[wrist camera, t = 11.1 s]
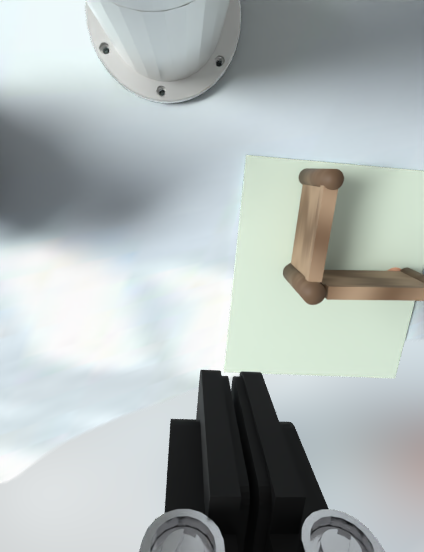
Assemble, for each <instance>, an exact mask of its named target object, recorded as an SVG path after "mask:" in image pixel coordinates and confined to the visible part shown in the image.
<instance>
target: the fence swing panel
mask: <svg viewBox="0 0 424 552" xmlns="http://www.w3.org/2000/svg"><path fill="white" fill-rule="evenodd" d="M319 283H320V284H321V285H322V286H323V287H324V288H325V291H326V295H325V298H326V299H327V300H402V301H424V275H423V274H421V273H419V272H417V271H415V270H413V269H410V268H403V269H401V270H400V271H367V270H324V272H323V278H322V282H319Z"/></svg>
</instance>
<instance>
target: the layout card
mask: <svg viewBox="0 0 424 552" xmlns="http://www.w3.org/2000/svg"><path fill="white" fill-rule="evenodd" d="M306 168H317V169H339V170H340V171H341V172H342V173H343V175H344V182H343V184H342V186H341V187H340V188H338V194H337V199H336V205H335V210H334V216H333V222H332V227H331V233H330V239H329V244H328V250H327V256H326V261H325V267H324V270H367V271H400V270H401V269H403V268H410V269H413V270H415V271H417V272H419V273H421V274H422V272H423V268H424V171H420V170H408V169H397V168H386V167H375V166H364V165H352V164H341V163H330V162H319V161H308V160H296V159H285V158H274V157H263V156H252V155H246V160H245V170H244V180H243V189H242V199H241V209H240V218H239V228H238V238H237V247H236V257H235V267H234V276H233V286H232V296H231V305H230V315H229V325H228V335H227V344H226V354H225V364H224V372H232V373H240V372H241V371H244V372H261V373H262V374H287V375H315V376H316V375H317V376H343V377H371V378H395V376H396V373H397V369H398V365H399V361H400V357H401V353H402V349H403V345H404V342H405V338H406V334H407V330H408V326H409V322H410V319H411V315H412V311H413V307H414V303H415V301H402V300H327V299H326V298H324V300H323V301H322V302H321V303H319V304H317V305H309V304H307V303H306V302H305V301H304V300H303V299H302V298H301V296H300V295H299V294H298V293H297V292H296V291H295V289H294V288H293V287H292V286H291V285H290V284H289V283H288V281H287V280H286V279H285V278H284V276H283V269H284V268H285V266H286V265H288V264H289V263H291V259H292V252H293V245H294V239H295V232H296V225H297V218H298V212H299V205H300V198H301V192H302V184H301V183H300V182H299V174H300V172H301V171H302V170H303V169H306Z"/></svg>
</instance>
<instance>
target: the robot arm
mask: <svg viewBox="0 0 424 552" xmlns="http://www.w3.org/2000/svg"><path fill="white" fill-rule="evenodd" d="M85 11H86V21H87V27H88V31H89V35H90V38H91V42H92V44H93V46H94V49H95V51H96V53H97V55H98V57H99V59H100V60H101V62H102V63H103V65H104V66H105V68H106V69H107V71H108V72H109V73H110V74H111V75H112V77H113V78H114V79H115V80H116V81H117V82H119V83H120V84H121V85H122V86H123V87H124V88H125V89H127V90H128V91H130V92H132V93H133V94H135V95H137V96H138V97H141V98H144V99H147V100H149V101H153V102H159V103H180V102H183V101H187V100H191V99H193V98H195V97H197V96H199V95H201V94H203V93H205V92H206V91H207V90H208V89H210V88H211V87H212V86H213V85H215V84H216V82H217V81H218V80H219V79H220V78H221V76H222V75H223V74H224V73H225V71H226V69H227V67H228V66H229V64H230V62H231V60H232V58H233V55H234V53H235V51H236V47H237V43H238V40H239V36H240V27H241V6H240V0H86V2H85ZM106 48H108V49H109V53H108V54H105V53H104V50H105V49H106ZM217 61H221V63H222V65H221V66H217V65H216V62H217ZM161 90H164V91H165V95H164V96H161V95H160V94H159V92H160V91H161ZM139 552H385V551H384V549H383V548H382V546H381V545H380V543H379V541H378V540H377V539H376V537H375V536H374V535H373V534H372V532H371V531H370V530H369V529H368V528H367V527H366V526H365V525H363V524H362V523H361V522H360V521H359V520H357V519H355V518H354V517H352V516H350V515H348V514H346V513H344V512H340V511H337V510H331V509H330V510H329V509H328V507H327V504H326V502H325V499H324V497H323V495H322V492H321V490H320V487H319V485H318V482H317V480H316V478H315V475H314V473H313V471H312V468H311V465H310V463H309V461H308V458H307V456H306V453H305V451H304V448H303V446H302V444H301V441H300V439H299V436H298V434H297V431H296V429H295V427H294V425H293V424H292V423H291V422H279V420H278V418H277V415H276V412H275V409H274V406H273V404H272V401H271V398H270V395H269V393H268V390H267V387H266V384H265V381H264V379H263V376H262V373H261V372H244V371H241V372H240V376H239V377H236V376H234V377H233V380H232V388H231V389H230V384H229V379H228V376H221V371H217V370H201V371H200V380H199V392H198V405H197V418H196V420H188V419H171V423H170V439H169V454H168V470H167V485H166V501H165V513H164V514H163V515H161V516H160V517H158V518H157V519H155V521H154V522H153V523H152V524H151V525H150V526H149V527H148V529H147V531H146V533H145V536H144V538H143V540H142V543H141V548H140V551H139Z"/></svg>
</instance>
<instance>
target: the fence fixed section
mask: <svg viewBox="0 0 424 552" xmlns="http://www.w3.org/2000/svg"><path fill="white" fill-rule="evenodd" d="M299 182H300V183H301V184H302V192H301V198H300V205H299V212H298V218H297V225H296V232H295V239H294V245H293V252H292V259H291V263H289V264H288V265H286V266H285V268H284V269H283V276H284V278H285V279H286V280H287V281H288V283H289V284H290V285H291V286H292V287H293V288H294V289H295V291H296V292H297V293H298V294H299V295H300V296H301V298H302V299H303V300H304V301H305V302H306V303H307V304H309V305H317V304H319V303H321V302H322V301H323V300H324V298H325V295H326V291H325V288H324V287H323V286H322V285H321V284H320V283H319V282H322V278H323V272H324V267H325V261H326V256H327V250H328V244H329V239H330V233H331V227H332V222H333V216H334V210H335V205H336V199H337V194H338V188H340V187H341V186H342V184H343V182H344V175H343V173H342V172H341V171H340V170H339V169H317V168H306V169H303V170H302V171H301V172H300V174H299Z"/></svg>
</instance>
